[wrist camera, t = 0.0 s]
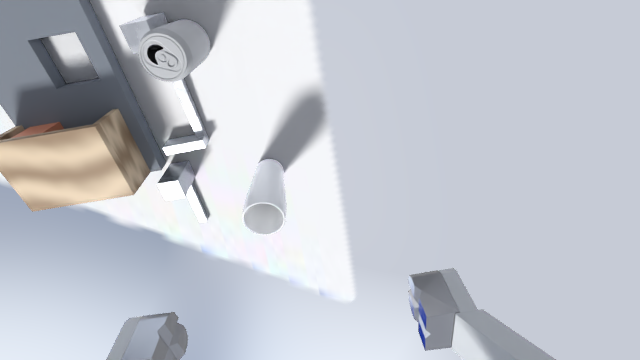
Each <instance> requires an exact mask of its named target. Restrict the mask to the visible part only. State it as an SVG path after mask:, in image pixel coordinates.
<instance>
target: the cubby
mask: <svg viewBox="0 0 640 360" xmlns="http://www.w3.org/2000/svg"><path fill="white" fill-rule="evenodd" d="M24 130H25V129H24V127H23V126H22V125H20V126H15V127H14V128H12V129H10V130H8V131H6V132H5V133H3V134H1V135H0V172H1V173H2V175H3V176H4V177H5V178H6V180H7V181H8V182H9V183H10V185H11V186H12V187H13V188H14V189H15V191H16V192H17V193H18V194H19V196H20V197H21V198H22V199H23V201H24V202H25V203H26V204H27V206H28V207H29V208H30V209H31V211H39V210H45V209H51V208H57V207H63V206H69V205H75V204H81V203H87V202H93V201H100V200H106V199H112V198H118V197H124V196H130V195H134V194H135V193H136V191H137V190H138V188H139V187H140V186H141V184H142V183H143V182H144V180H145V179H146V177H147V176H148V175H149V173H150V170H149V168H148V166H147V164H146V162H145V160H144V158H143V156H142V154H141V152H140V150H139V148H138V146H137V144H136V142H135V140H134V138H133V136H132V135H131V133H130V131H129V129H128V127H127V125H126V123H125V121H124V119H123V117H122V115H121V113H120V111H119V109H113V110H111V111H110V112H108V113H107V114H106V115H104V116H103V117H102V118H100V119H99V120H98V121H96V122H95V123H94V124H92V125H86V126H80V127H74V128H68V129H63V130H57V131H51V132H45V133H39V134H33V135H28V136H22V137H16V138H12V137H14V136H15V135H17V134H19V133H20V132H22V131H24Z"/></svg>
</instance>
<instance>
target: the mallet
mask: <svg viewBox="0 0 640 360" xmlns="http://www.w3.org/2000/svg"><path fill="white" fill-rule="evenodd" d="M194 178H195V174H194V171H193V169H192V167H191V164H190V162H189V161H183V162H177V163H171V164H170V165H169V167H168V168H167V170H166V171H165V173H164V174H163V176H162V177H161V179H160V181H159V182H158V184H157V185H158V187H159V189H160V191H161V192H162V194H163V196H164V198H165V200H173V199H179V198H185V197H186V195H187V196H188V198H189V200H190V202H191V204H192V207H193V209H194V211H195V213H196V215H197V217H198V220H199V222H200V223H202V222H207V220H208V216H207V214H206V211H205V209H204V207H203V205H202V202H201V200H200V198H199V195H198V193H197V191H196V189H195V186H194V184H193V180H194Z"/></svg>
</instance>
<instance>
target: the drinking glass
mask: <svg viewBox="0 0 640 360" xmlns="http://www.w3.org/2000/svg"><path fill="white" fill-rule="evenodd" d="M285 218H286V194H285V185H284V169H283V166H282V165H281V164H280V163H279V162H278V161H276V160H274V159H265V160H262V161H261V162H260V163H259V164H258V165H257V167H256V170H255V174H254V177H253V180H252V182H251V185H250V188H249V190H248V193H247V196H246V199H245V203H244V207H243V214H242V220H243V223H244V225H245V227H246V228H247V229H248V230H250V231H251V232H253V233H256V234H259V235H270V234H273V233H276V232H278V231H279V230H280V229H281V228H282V227H283V225H284V223H285Z"/></svg>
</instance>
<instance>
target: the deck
mask: <svg viewBox="0 0 640 360" xmlns="http://www.w3.org/2000/svg"><path fill="white" fill-rule="evenodd" d="M72 32H76V34H77V36H78V38H79V40H80V42H81V44H82V46H83V48H84V50H85V52H86V54H87V56H88V57H89V59H90V61H91V63H92V65H93V67H94V69H95V71H96V73H97V75H98V77H99V78H98V79H93V80H87V81H81V82H76V83H70V84H66V83H65V81H64V80H63V78H62V76H61V75H60V73H59V71H58V69H57V68H56V66H55V64H54V62H53V61H52V59H51V57H50V55H49V54H48V52H47V50H46V49H45V47H44V45H43V43H42V42H41V40H40V38H44V37H49V36H55V35H60V34H66V33H72ZM0 104H1V106H2V107H3V109H4V110H5V111H6V113H7V114H8V116H9V117H10V119H11V120H12V121H13V123H14V124H15V126H20V125H22V126H23V127H24V129H25V130H26V129H27V128H29V127H33V126H38V125H44V124H50V123H56V122H60V123H61V125H62V126H63V128H64V129H68V128H74V127H80V126H86V125H92V124H94V123H95V122H96V121H98V120H99V119H100V118H102V117H103V116H104V115H106V114H107V113H108V112H110V111H111V110H113V109H119V111H120V113H121V115H122V117H123V119H124V121H125V123H126V125H127V127H128V129H129V131H130V133H131V135H132V136H133V138H134V140H135V142H136V144H137V146H138V148H139V150H140V152H141V154H142V156H143V158H144V160H145V162H146V164H147V166H148V168H149V170H150V172H152V171H158V170H162V168H163V167H164V165H165V164H166V162H165V160H164V158H163V156H162V154H161V151H160V149H159V147H158V145H157V143H156V141H155V139H154V137H153V135H152V132H151V130H150V128H149V126H148V124H147V122H146V120H145V118H144V115H143V113H142V111H141V109H140V107H139V105H138V103H137V101H136V99H135V96H134V94H133V92H132V90H131V88H130V86H129V84H128V82H127V80H126V77H125V75H124V73H123V71H122V69H121V67H120V65H119V63H118V61H117V58H116V56H115V54H114V52H113V50H112V48H111V46H110V44H109V41H108V39H107V37H106V35H105V33H104V31H103V29H102V27H101V25H100V22H99V20H98V18H97V16H96V14H95V12H94V10H93V8H92V6H91V3H90V1H89V0H0Z"/></svg>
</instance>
